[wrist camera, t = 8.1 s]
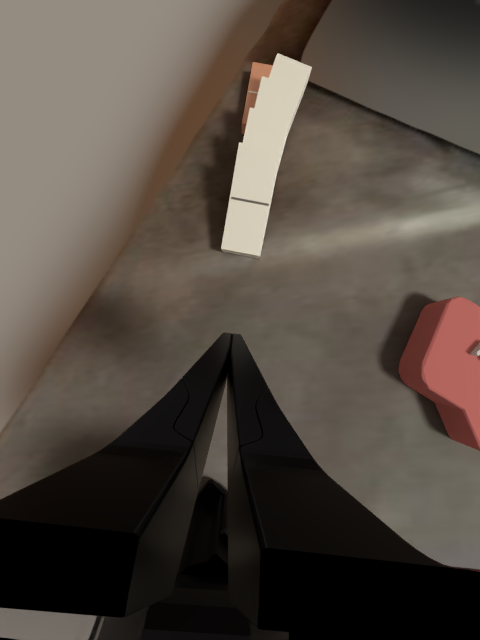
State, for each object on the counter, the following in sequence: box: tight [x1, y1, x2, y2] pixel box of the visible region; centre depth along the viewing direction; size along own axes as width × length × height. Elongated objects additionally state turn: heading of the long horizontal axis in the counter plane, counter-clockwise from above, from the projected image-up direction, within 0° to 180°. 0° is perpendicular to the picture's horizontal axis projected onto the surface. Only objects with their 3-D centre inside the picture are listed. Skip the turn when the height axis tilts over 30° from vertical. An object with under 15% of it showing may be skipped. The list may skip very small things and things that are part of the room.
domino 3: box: [254, 76, 300, 172], centre depth 24 cm, size 2×5×12 cm
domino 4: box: [269, 53, 312, 136], centre depth 25 cm, size 2×5×12 cm
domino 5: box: [241, 62, 273, 134], centre depth 28 cm, size 2×5×12 cm
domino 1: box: [221, 142, 281, 259], centre depth 22 cm, size 2×5×12 cm
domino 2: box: [243, 108, 290, 171], centre depth 23 cm, size 2×5×12 cm
